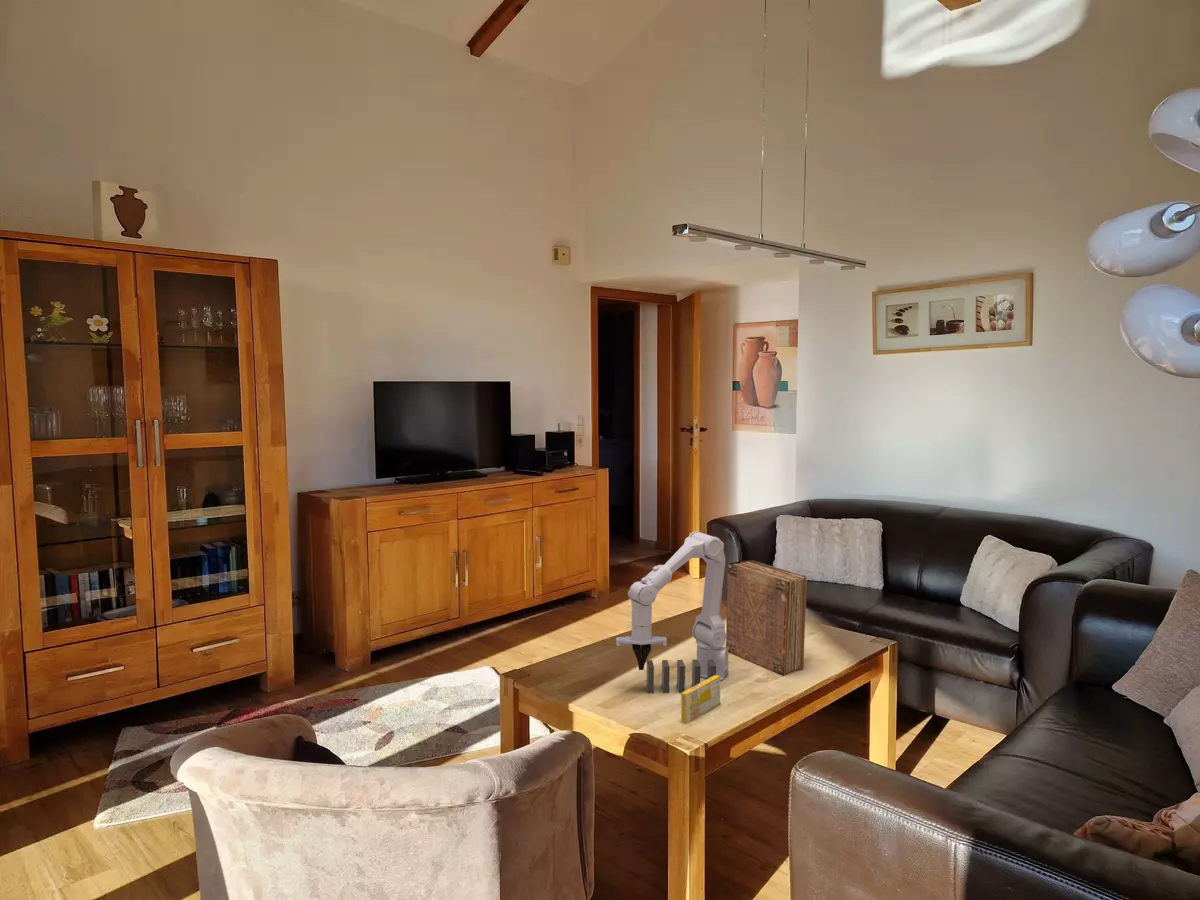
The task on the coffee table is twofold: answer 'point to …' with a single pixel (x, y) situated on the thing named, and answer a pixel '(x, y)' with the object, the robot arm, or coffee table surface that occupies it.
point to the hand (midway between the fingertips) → (641, 668)
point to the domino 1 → (650, 676)
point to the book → (766, 615)
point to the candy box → (700, 699)
